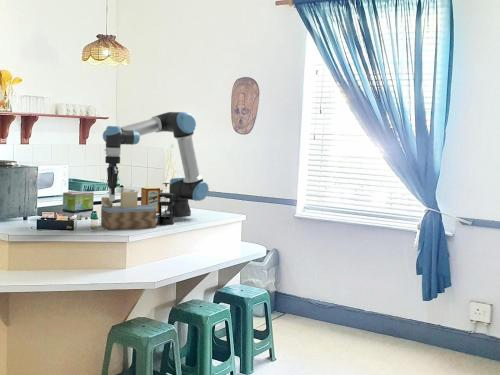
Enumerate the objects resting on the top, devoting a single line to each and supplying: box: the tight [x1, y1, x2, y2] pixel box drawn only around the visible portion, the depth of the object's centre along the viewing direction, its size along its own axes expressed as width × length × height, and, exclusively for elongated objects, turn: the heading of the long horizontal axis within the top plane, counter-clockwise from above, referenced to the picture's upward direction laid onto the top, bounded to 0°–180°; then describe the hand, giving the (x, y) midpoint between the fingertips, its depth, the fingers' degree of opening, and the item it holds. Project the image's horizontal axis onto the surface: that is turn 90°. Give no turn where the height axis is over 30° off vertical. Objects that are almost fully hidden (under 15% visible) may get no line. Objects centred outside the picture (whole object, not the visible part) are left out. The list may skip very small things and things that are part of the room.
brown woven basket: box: [100, 209, 157, 231], centre depth 334 cm, size 26×17×10 cm, turn 119°
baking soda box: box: [140, 186, 161, 214], centre depth 384 cm, size 10×6×16 cm
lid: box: [100, 191, 156, 213], centre depth 332 cm, size 26×14×11 cm, turn 119°
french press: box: [156, 182, 176, 226], centre depth 347 cm, size 12×9×23 cm
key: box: [100, 196, 114, 207], centre depth 333 cm, size 4×9×4 cm, turn 29°
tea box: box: [61, 190, 95, 220], centre depth 357 cm, size 15×10×15 cm, turn 151°
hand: (111, 200), depth 324 cm, fingers closed
